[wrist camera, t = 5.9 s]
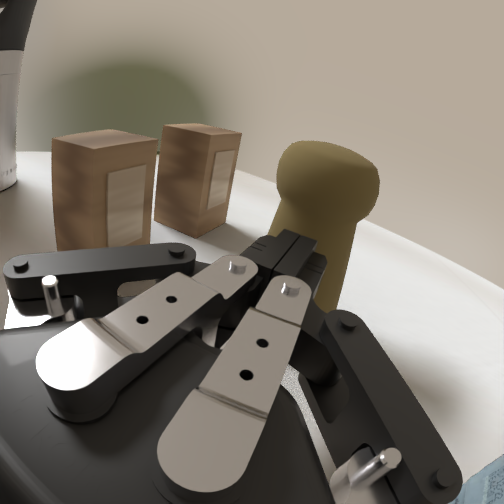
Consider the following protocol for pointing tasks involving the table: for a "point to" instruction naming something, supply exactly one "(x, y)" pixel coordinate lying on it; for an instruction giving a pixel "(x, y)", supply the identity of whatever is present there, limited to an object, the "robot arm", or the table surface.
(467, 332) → the table surface
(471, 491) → the beverage carton
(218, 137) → the numbered block
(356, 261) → the table surface
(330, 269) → the cork
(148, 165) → the numbered block
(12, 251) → the table surface
